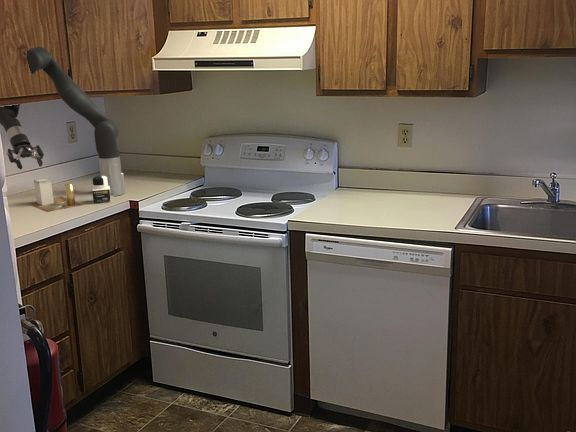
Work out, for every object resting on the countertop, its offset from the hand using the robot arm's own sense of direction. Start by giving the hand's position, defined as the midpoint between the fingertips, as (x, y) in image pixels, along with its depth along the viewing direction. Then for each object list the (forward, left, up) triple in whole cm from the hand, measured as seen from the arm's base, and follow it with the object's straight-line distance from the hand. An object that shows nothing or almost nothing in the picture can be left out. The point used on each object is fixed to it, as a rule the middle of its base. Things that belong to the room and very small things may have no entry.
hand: (31, 166), depth 279 cm
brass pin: (-6, +24, -15) cm, 29 cm away
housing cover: (0, +11, -15) cm, 18 cm away
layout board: (-2, +16, -16) cm, 23 cm away
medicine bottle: (-18, +28, -16) cm, 37 cm away
